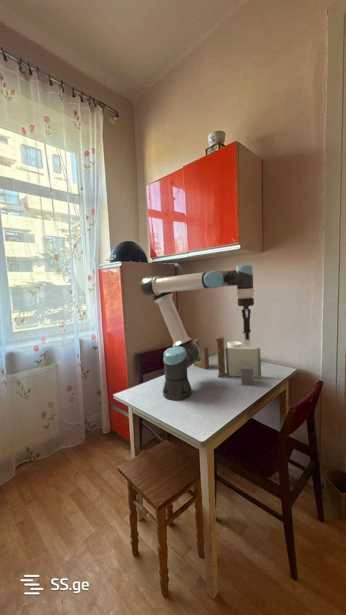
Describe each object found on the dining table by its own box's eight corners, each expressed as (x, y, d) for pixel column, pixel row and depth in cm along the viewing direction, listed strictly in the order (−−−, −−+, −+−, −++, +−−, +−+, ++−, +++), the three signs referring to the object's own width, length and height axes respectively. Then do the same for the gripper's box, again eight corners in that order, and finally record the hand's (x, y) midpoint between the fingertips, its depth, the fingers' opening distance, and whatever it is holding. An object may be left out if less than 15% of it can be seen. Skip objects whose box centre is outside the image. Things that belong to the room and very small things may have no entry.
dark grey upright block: (241, 384, 134) (241, 368, 133) (241, 380, 140) (240, 364, 139) (253, 385, 133) (252, 368, 132) (252, 380, 139) (251, 364, 138)
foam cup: (237, 364, 166) (236, 345, 164) (225, 361, 173) (224, 343, 171) (244, 360, 172) (244, 342, 170) (233, 358, 179) (232, 340, 177)
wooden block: (205, 369, 160) (204, 342, 159) (194, 365, 169) (192, 340, 167) (209, 368, 163) (208, 341, 161) (198, 364, 171) (196, 338, 169)
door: (226, 375, 146) (225, 348, 145) (226, 374, 148) (225, 348, 146) (261, 375, 142) (260, 348, 140) (260, 374, 143) (259, 348, 142)
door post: (217, 377, 146) (215, 338, 144) (218, 374, 151) (216, 336, 149) (226, 377, 145) (224, 338, 143) (226, 374, 150) (224, 336, 147)
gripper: (255, 298, 111) (256, 349, 114) (252, 296, 125) (254, 341, 127) (237, 299, 113) (239, 349, 115) (237, 296, 127) (239, 341, 129)
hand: (247, 345), depth 121 cm, fingers closed
